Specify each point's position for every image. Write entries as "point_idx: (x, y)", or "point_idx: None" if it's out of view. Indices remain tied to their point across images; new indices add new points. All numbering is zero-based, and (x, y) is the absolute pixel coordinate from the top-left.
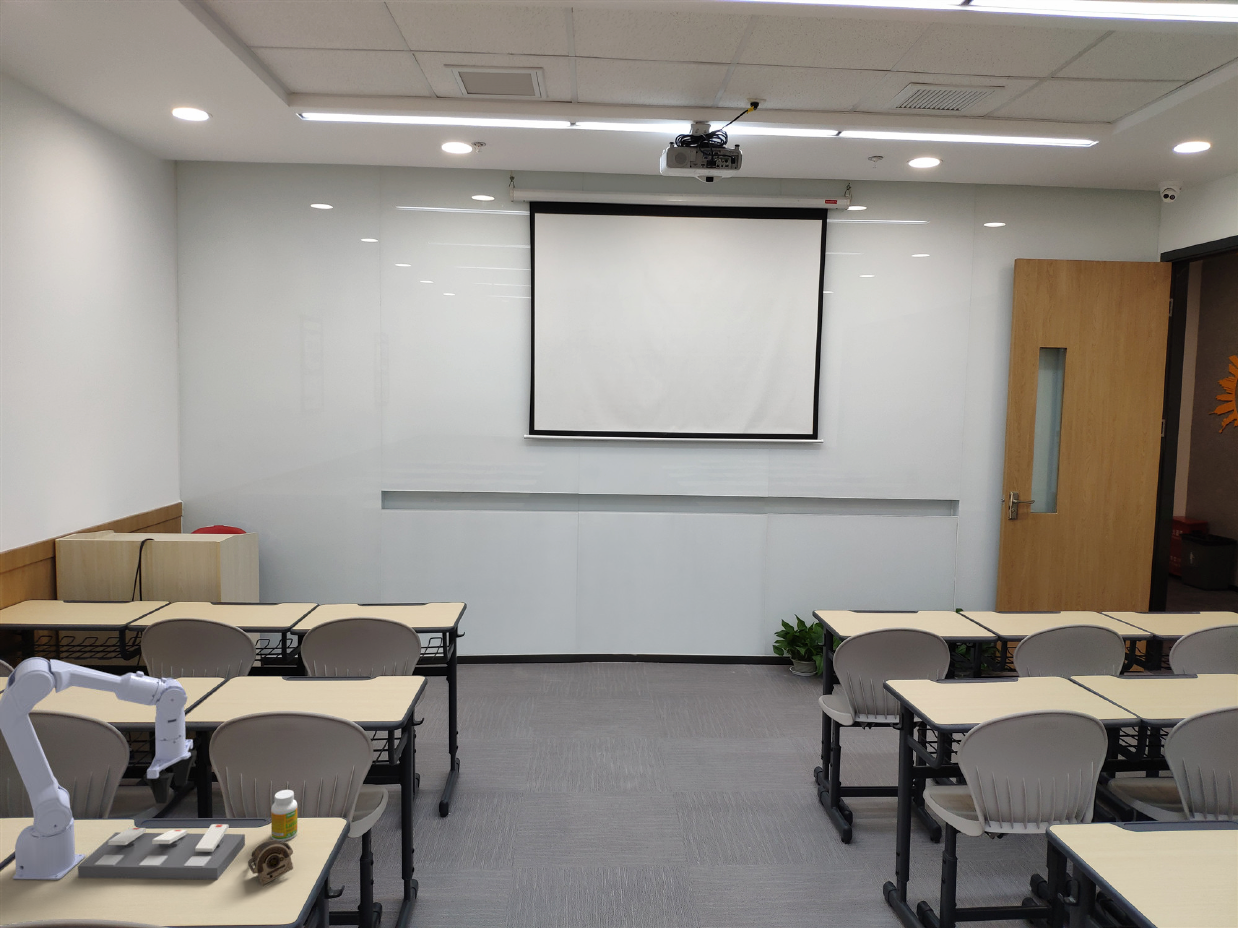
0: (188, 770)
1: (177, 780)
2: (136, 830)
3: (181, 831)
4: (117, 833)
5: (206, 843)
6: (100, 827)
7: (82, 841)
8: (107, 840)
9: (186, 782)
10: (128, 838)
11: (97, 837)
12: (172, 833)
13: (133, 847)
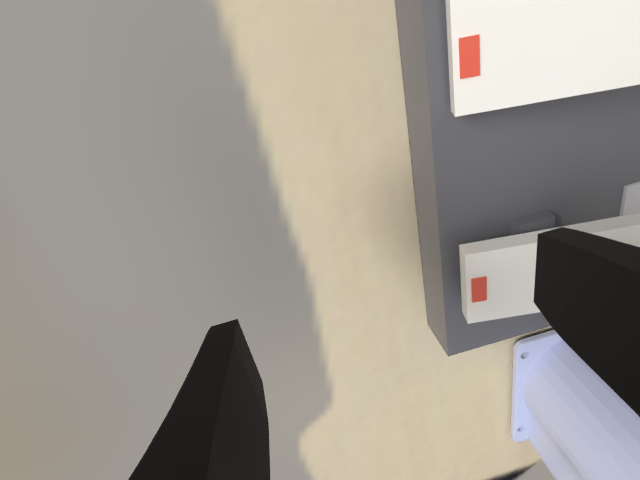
0: (192, 441)
1: (261, 409)
2: (500, 272)
3: (484, 17)
4: (454, 344)
5: None
6: (346, 435)
7: (429, 413)
8: (505, 335)
9: (213, 333)
10: (616, 233)
11: (402, 398)
12: (539, 44)
13: (558, 200)
